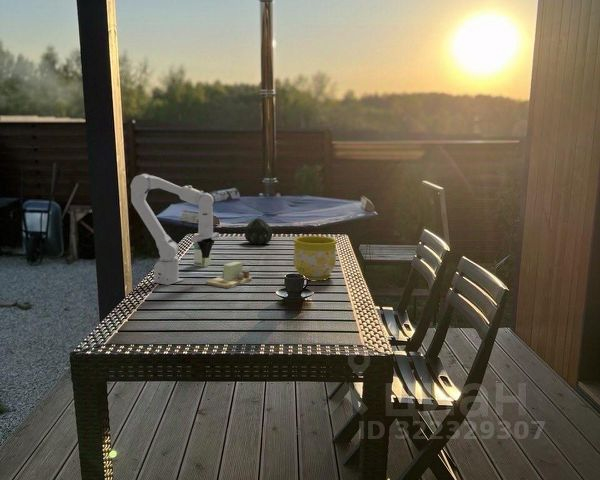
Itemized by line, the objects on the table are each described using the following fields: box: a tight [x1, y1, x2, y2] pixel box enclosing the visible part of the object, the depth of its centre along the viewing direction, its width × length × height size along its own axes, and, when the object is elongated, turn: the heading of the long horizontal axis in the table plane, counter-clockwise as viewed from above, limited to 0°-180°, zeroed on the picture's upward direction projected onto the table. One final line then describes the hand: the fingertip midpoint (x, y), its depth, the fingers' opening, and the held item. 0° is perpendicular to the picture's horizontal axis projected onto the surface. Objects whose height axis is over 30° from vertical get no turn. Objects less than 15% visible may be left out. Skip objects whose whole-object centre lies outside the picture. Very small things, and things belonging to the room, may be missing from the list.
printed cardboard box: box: [193, 232, 212, 268], centre depth 264 cm, size 6×6×14 cm
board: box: [205, 270, 253, 289], centre depth 236 cm, size 16×11×4 cm
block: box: [223, 261, 244, 281], centre depth 238 cm, size 8×4×6 cm, turn 149°
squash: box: [244, 218, 273, 246], centre depth 319 cm, size 14×15×15 cm
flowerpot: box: [293, 235, 338, 280], centre depth 246 cm, size 18×18×16 cm
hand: (205, 257), depth 235 cm, fingers closed
